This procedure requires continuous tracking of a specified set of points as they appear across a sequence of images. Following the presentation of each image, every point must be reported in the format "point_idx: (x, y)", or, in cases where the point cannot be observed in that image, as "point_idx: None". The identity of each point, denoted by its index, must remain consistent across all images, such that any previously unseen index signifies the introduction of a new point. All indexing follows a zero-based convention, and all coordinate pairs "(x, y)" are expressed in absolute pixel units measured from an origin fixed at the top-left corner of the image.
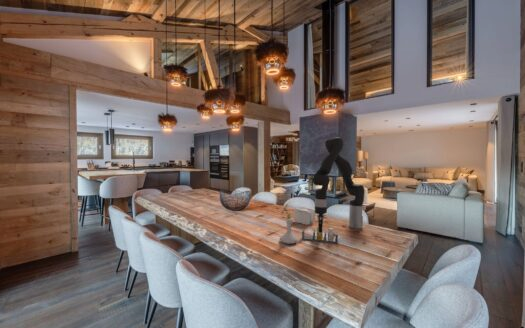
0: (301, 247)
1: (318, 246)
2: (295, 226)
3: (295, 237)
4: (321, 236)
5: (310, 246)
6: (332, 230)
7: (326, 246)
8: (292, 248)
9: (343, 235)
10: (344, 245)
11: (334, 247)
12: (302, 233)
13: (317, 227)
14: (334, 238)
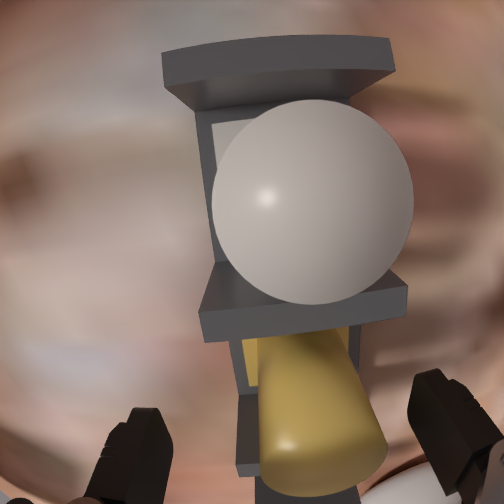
0: (493, 401)
1: (479, 299)
2: (60, 490)
3: (438, 490)
4: (336, 334)
5: (481, 359)
6: (387, 149)
7: (468, 220)
8: (499, 429)
9: (2, 71)
10: (358, 6)
11: (466, 129)
12: (357, 501)
13: (323, 490)
14: (199, 128)
